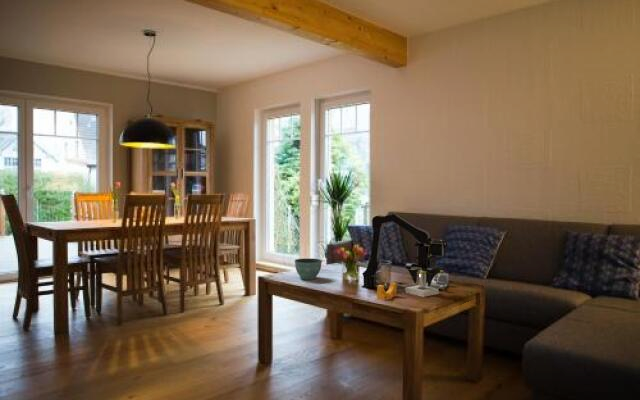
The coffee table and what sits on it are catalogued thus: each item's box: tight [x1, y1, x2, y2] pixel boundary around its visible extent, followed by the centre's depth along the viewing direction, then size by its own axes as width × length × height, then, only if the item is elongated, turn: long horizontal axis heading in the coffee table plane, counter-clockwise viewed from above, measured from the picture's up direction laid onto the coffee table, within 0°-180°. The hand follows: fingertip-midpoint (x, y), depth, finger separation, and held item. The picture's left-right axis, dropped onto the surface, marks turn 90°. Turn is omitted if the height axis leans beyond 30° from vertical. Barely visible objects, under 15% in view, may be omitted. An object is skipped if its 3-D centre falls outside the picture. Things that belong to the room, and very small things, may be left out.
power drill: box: [419, 237, 450, 282], centre depth 281 cm, size 9×17×25 cm, turn 68°
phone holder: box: [426, 273, 451, 292], centre depth 262 cm, size 18×10×12 cm
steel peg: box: [418, 272, 427, 290], centre depth 248 cm, size 4×4×10 cm
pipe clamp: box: [376, 283, 397, 301], centre depth 237 cm, size 12×4×6 cm, turn 133°
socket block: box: [385, 280, 419, 292], centre depth 259 cm, size 12×12×2 cm
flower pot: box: [294, 258, 323, 281], centre depth 280 cm, size 16×16×11 cm
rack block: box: [405, 284, 439, 298], centre depth 248 cm, size 12×12×2 cm
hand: (422, 284), depth 248 cm, fingers open, 9 cm apart
